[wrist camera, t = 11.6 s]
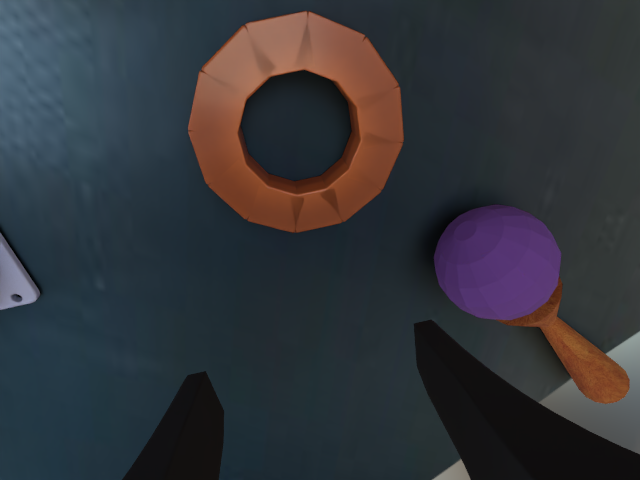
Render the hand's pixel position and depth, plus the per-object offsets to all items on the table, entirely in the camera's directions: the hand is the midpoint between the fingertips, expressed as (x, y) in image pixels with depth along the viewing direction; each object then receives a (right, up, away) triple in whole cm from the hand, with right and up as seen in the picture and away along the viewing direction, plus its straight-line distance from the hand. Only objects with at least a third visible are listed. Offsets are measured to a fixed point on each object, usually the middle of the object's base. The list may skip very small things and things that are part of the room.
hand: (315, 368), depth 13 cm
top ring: (-1, +10, +5) cm, 11 cm away
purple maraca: (+14, +1, +13) cm, 19 cm away
